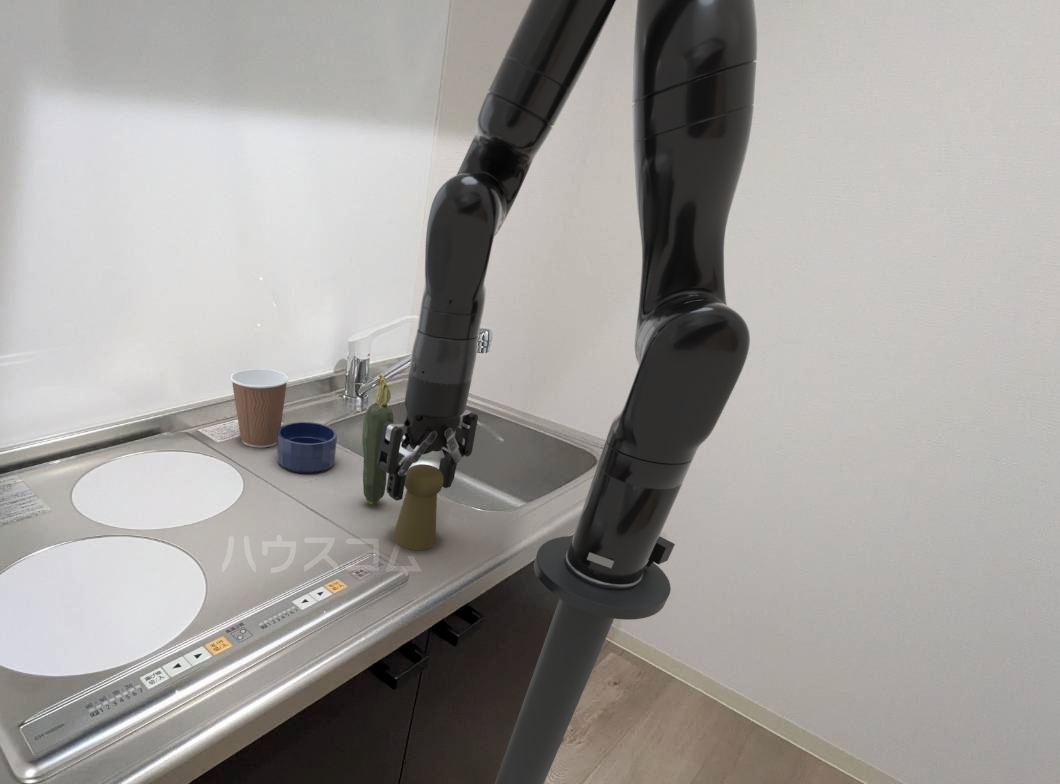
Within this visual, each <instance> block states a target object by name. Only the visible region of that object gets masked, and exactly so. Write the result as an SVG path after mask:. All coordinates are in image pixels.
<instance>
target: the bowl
mask: <svg viewBox="0 0 1060 784" xmlns="http://www.w3.org/2000/svg"><path fill="white" fill-rule="evenodd" d="M337 440H338V433H337V431H336V430H335V429H334V428H333V427H331V426H329V425H326V424H323V423H320V422H314V421H297V422H289V423H286V424H283V425H281V427H280V428H279V429H278V431H277V443H276V460H277V463H278V464H279V465H281V466H282V467H284V468H285V469H287V470H289V471H292V472H295V473H300V474H313V473H315V474H316V473H320V472H323V471H326V470H327V469H329V468H331V467H332V466H333V465H335V462H336V457H337V442H338V441H337Z"/></svg>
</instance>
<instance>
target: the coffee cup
mask: <svg viewBox="0 0 1060 784" xmlns="http://www.w3.org/2000/svg"><path fill="white" fill-rule="evenodd" d="M229 379H230V381H231V382H232V384H231V385H232V390H233V391H232V392H233V398H234V404H235V410H236V416H237V417H236V418H237V423H238V430H239V436H240V439H241V442H242V443H243V444H244V445H246V446H248V447H251V448H258V449H260V448H268V447H273V446H275V445H277V431H278V429H279V428H280V427H281V426H282V421H283V414H284V406H285V399H286V393H287V392H286V391H287V383H288V382H289V380H290V379H289V376H288V375H287V374H286V373H284V372H281V371H278V370H274V369H268V368H247V369H241V370H237V371H235V372H233V373H231V375H230V377H229Z"/></svg>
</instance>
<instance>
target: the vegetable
mask: <svg viewBox="0 0 1060 784" xmlns="http://www.w3.org/2000/svg"><path fill="white" fill-rule="evenodd" d="M377 377H379V379H378V383H377V385H378V386H377V390H376V392H375V395H374V396H375V397H374V400H375V402H374V403H372V404H371V405H370V406H368V408H367V409H366V411H365V413H364V417H363V423H362V436H361V437H362V439H361V441H362V452H363V471H362V485H363V487H362V489H363V495H364V498H365V500H366V502H368V503H369V504H370V505H372V504H374V503H378V502H379V501H380V500H381V499H382V498H383V497H384V496H385V492H386V488H387V478H388V476H387V474H388V473H387V472H386V471H384V470H383V469H381V468H380V467H378V466H377V458H378V452H379V447H380V441H381V435H382V429H383V425H384V424H385V423H386V422H390V423H392V424H394V421H395V419H394V414H393V410H392V409H391V407H390V406H389V405H388V404H389V402H390V400H391V389H390V387H389V384H388V383H387V378H386V377H385V376H384V375H382V374H379V375H377ZM387 460H388V456H387Z"/></svg>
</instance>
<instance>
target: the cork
mask: <svg viewBox="0 0 1060 784" xmlns="http://www.w3.org/2000/svg"><path fill="white" fill-rule="evenodd" d="M405 475H406V479H405V485H404V488H405V489H406V492H405V494H404V498H403V501H402V505H401V508H400V511H399V515H398V519H397V522H396V525H395V527H394V528H395V529H394V532H393V536H392V538H393V541H394V542H395V543H396V544H397V545H398V546H400V547H402V548H404V549H407V550H412V551H426V550H429V549H432V548H433V547H434V546H435V545H436V537H437V536H436V535H437V533H436V532H437V509H438V507H437V505H438V494H439V493H440V492H441V490H442V489H443V487H442V486H443V475H442V473H441V471H440V470H439V468H438V467H435V466H434V465H430V464H426V463H425V464H424V463H421V464H420V463H419V464H414V465H411V466H410V467H409V469H408V470H407V472H406V473H405Z"/></svg>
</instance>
